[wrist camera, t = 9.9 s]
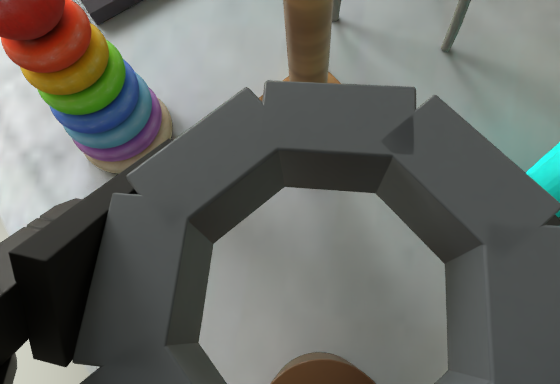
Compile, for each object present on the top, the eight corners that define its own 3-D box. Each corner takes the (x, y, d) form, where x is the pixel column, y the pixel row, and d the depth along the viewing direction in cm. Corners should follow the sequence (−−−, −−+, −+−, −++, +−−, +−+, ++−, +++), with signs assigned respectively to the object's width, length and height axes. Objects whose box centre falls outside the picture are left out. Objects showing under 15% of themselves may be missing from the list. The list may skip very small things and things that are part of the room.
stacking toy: (151, 189, 35) (-13, 39, 17) (71, 161, 36) (-158, -4, 18) (189, 110, 37) (79, -94, 19) (112, 87, 38) (-56, -124, 21)
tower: (374, 123, 35) (422, -34, 20) (302, 179, 34) (297, 57, 19) (314, 63, 38) (317, -116, 23) (244, 114, 36) (199, -40, 21)
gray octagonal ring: (611, 330, 10) (707, 330, 7) (301, 652, 8) (296, 781, 6) (337, 73, 13) (343, 13, 10) (68, 278, 11) (3, 263, 9)
